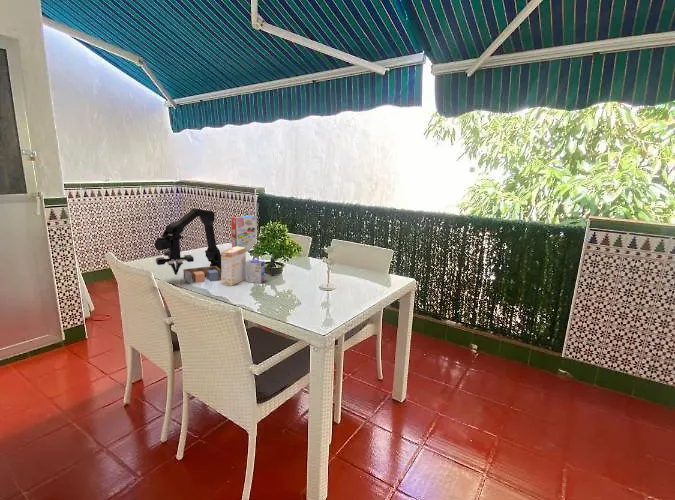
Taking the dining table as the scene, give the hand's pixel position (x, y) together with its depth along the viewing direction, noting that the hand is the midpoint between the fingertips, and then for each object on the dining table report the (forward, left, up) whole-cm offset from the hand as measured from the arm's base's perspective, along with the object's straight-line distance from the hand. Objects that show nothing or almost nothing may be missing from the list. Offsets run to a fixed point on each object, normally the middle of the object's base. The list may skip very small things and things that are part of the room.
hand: (175, 274), depth 210 cm
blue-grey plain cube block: (-20, 0, -6) cm, 21 cm away
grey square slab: (-7, 0, -5) cm, 9 cm away
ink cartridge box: (-41, +15, -6) cm, 44 cm away
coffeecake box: (-30, +10, -6) cm, 32 cm away
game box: (-63, -63, -6) cm, 90 cm away
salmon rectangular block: (-12, 0, -6) cm, 14 cm away
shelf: (-15, -2, -5) cm, 16 cm away
